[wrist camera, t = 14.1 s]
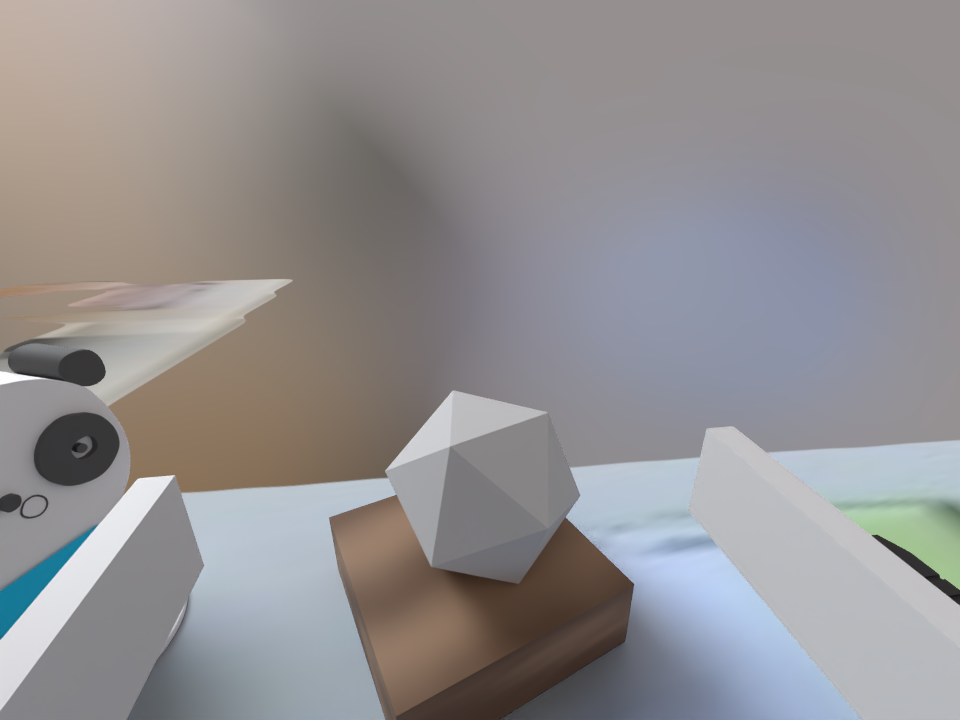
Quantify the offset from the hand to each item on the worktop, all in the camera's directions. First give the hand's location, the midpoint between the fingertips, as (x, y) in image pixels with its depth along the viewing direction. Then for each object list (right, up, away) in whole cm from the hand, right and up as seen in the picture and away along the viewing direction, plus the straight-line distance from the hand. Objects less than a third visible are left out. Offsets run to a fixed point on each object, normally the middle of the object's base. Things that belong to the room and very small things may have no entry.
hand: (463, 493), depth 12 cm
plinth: (0, -10, +14) cm, 18 cm away
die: (+1, -7, +13) cm, 15 cm away
